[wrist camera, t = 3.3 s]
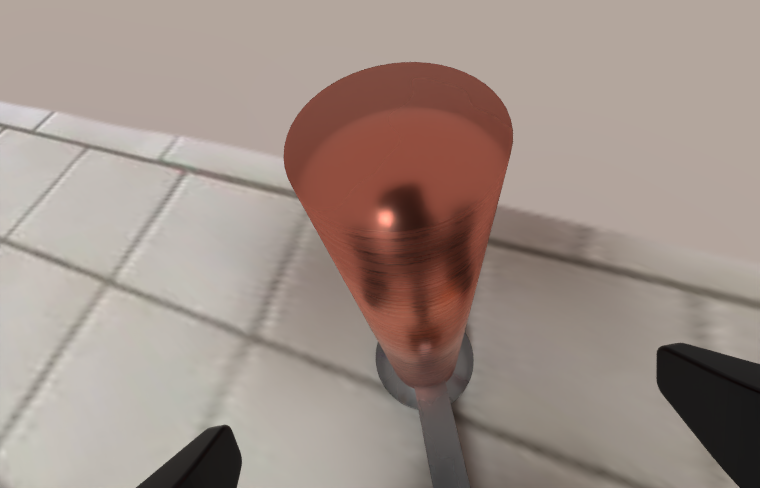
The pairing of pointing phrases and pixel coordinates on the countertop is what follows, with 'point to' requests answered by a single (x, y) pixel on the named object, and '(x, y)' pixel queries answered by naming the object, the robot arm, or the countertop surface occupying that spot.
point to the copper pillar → (408, 222)
